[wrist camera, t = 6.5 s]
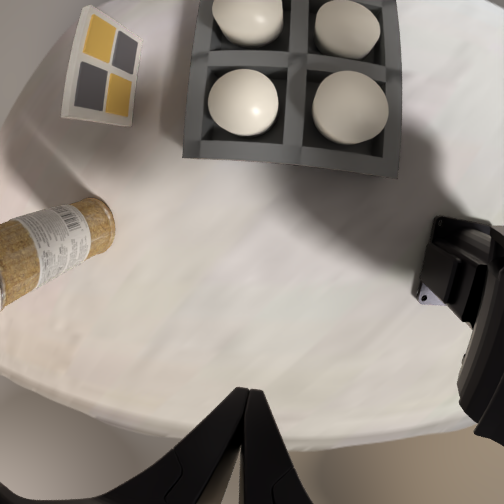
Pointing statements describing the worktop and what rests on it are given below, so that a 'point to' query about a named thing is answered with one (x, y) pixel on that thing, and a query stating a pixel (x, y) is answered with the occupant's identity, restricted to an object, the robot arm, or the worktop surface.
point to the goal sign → (101, 71)
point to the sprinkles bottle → (50, 244)
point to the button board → (294, 93)
